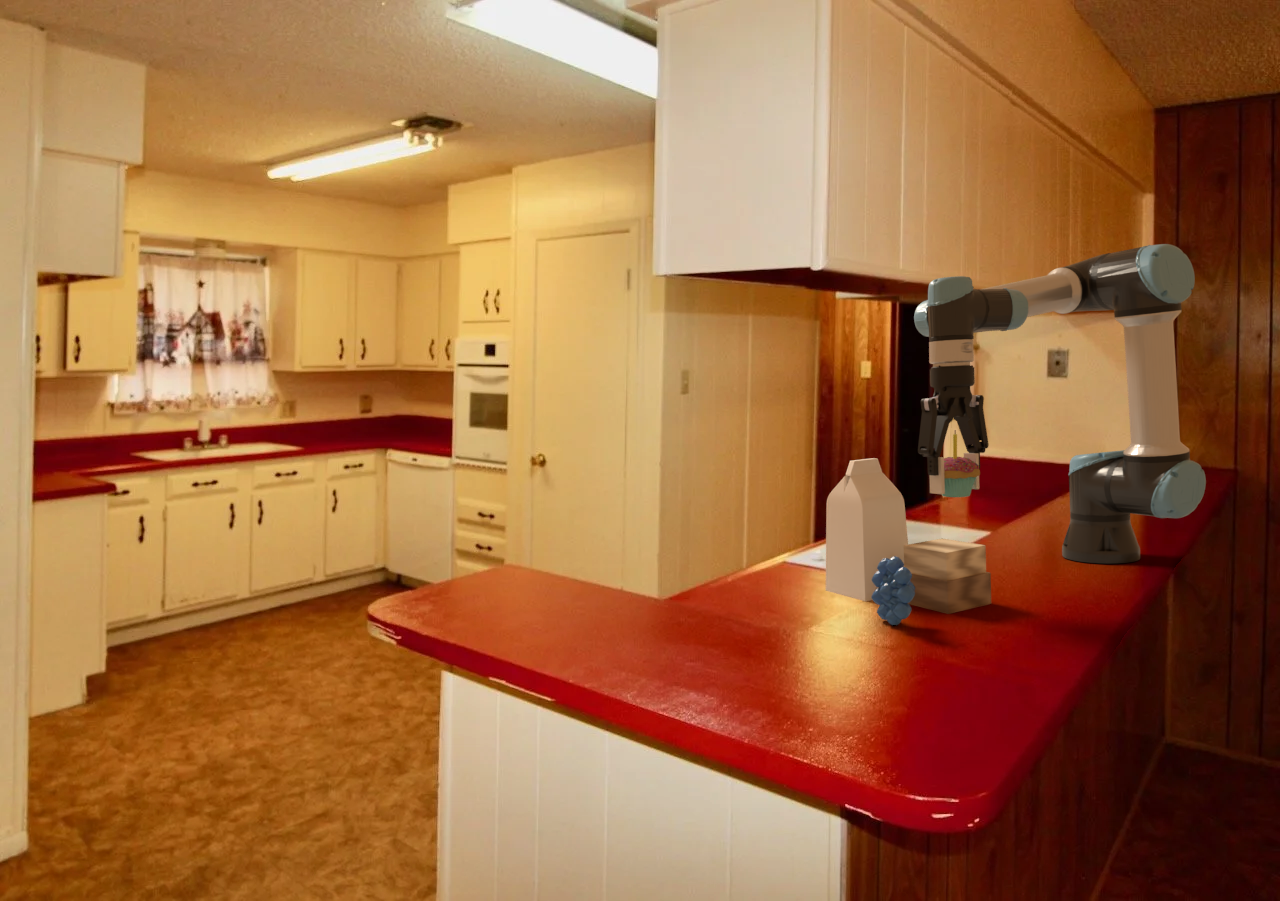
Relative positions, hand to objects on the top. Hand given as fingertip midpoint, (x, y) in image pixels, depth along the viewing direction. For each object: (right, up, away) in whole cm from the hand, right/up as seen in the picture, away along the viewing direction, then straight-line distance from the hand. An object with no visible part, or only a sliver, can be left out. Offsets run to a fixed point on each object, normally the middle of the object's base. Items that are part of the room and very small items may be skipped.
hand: (954, 490), depth 160 cm
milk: (-12, -21, +14) cm, 28 cm away
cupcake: (0, -1, 0) cm, 1 cm away
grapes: (-13, -22, -10) cm, 28 cm away
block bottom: (-1, -21, +2) cm, 21 cm away
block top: (-1, -15, +2) cm, 15 cm away
